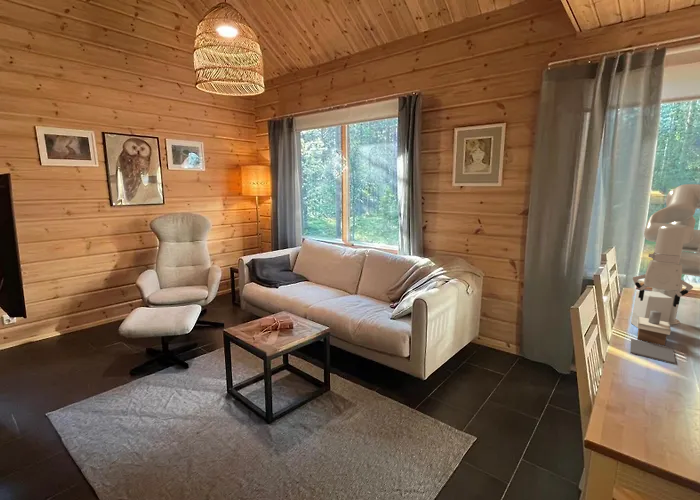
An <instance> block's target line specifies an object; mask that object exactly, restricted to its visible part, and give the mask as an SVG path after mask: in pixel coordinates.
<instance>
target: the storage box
mask: <svg viewBox="0 0 700 500" xmlns="http://www.w3.org/2000/svg"><path fill="white" fill-rule="evenodd" d="M667 337H668V335H667V334H663V333H658V332H653V331H649V330H644V329H639V328H637V340H639V341H641V340H642V341H643V342H645V341H647V342H648V343H650V342H651V343H652V344H657V345H659V344H660V345H661V346H663V345H664V346H666V340H667Z"/></svg>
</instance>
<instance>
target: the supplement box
mask: <svg viewBox="0 0 700 500" xmlns="http://www.w3.org/2000/svg"><path fill="white" fill-rule="evenodd" d="M639 291H640V290H639V289H638V290H636V292H635V297H634V303H633V308H632V314H631V321H630V324H631V325H633V326H635V328H637V321H638V316H639V317H644V318H649V316H650V311H652V310H653V311H658V312H661V318H660V321H665V322H669V317H670V312H671V307H672V302H673V298H671V297H669V296H667V295H665V294H662V293H660V292H652V290H650V291H649V290H644V297H643V301H640V298H638V296H639Z"/></svg>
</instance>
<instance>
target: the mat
mask: <svg viewBox="0 0 700 500" xmlns="http://www.w3.org/2000/svg"><path fill="white" fill-rule="evenodd" d="M629 350H630V351H629V352H630V354H631V353H632V355H636V354H637V355H636V356H640V355H641V356H640V357H644V356H645V358H648V357H649V359H652V358H653V359H652V360H656V359H658V360H657V361H660V360H663V361H662V362H664V361H666V362H665V363H668V362H669V364H672V365H676V358H675V353H674V348H673V347H669V346H666V345H665V346H663V345H659V344H654V343H650V342H645V341H641V340H638V339H634V338H631V339H630V349H629Z"/></svg>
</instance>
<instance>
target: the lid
mask: <svg viewBox="0 0 700 500" xmlns="http://www.w3.org/2000/svg"><path fill="white" fill-rule="evenodd" d="M660 318H661V312H658V311H653V310H652V311H650V316H649V318H644V317H639V316H638V321H637V327H636V328H637V329H638V328H639V329H644V330H649V331H653V332H658V333H663V334H667V336H670V335H671V331H672V329H671V326H670V324H669V322H665V321H660Z"/></svg>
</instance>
